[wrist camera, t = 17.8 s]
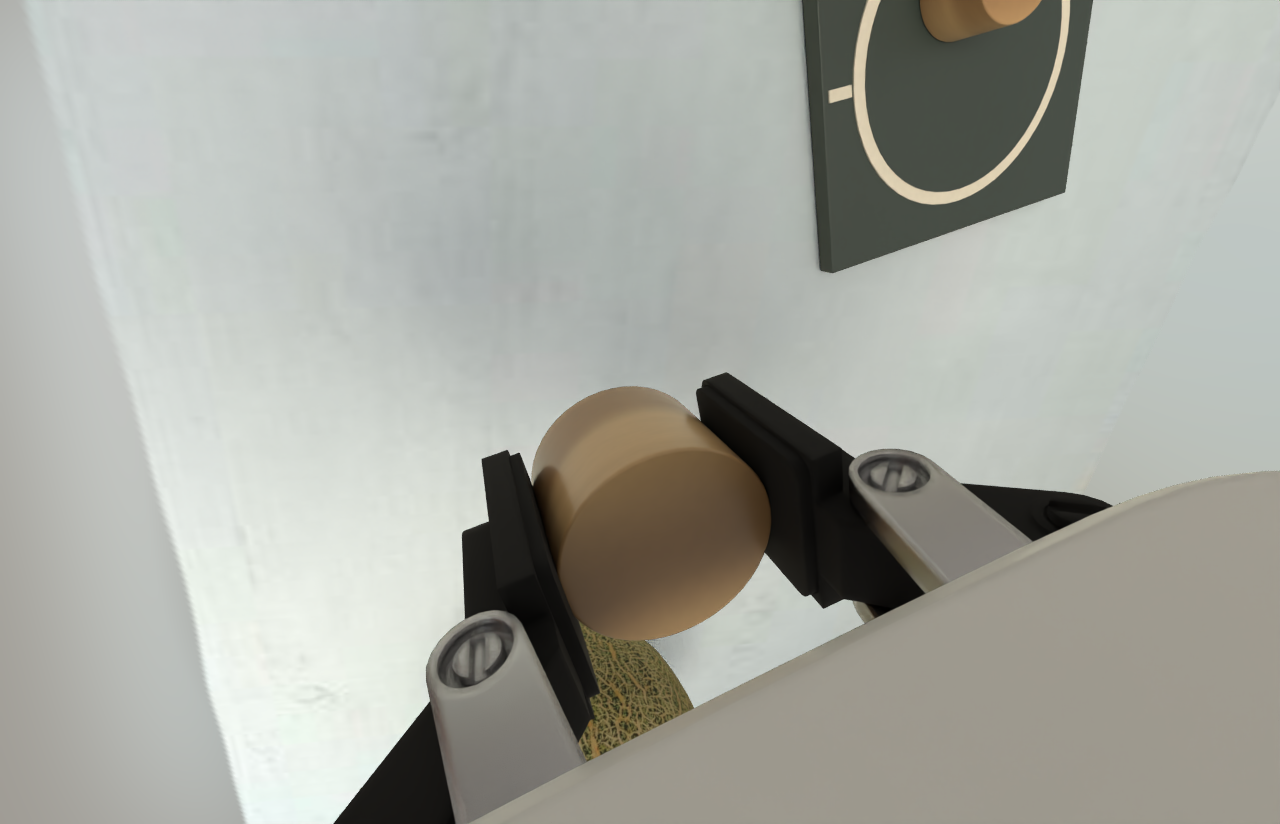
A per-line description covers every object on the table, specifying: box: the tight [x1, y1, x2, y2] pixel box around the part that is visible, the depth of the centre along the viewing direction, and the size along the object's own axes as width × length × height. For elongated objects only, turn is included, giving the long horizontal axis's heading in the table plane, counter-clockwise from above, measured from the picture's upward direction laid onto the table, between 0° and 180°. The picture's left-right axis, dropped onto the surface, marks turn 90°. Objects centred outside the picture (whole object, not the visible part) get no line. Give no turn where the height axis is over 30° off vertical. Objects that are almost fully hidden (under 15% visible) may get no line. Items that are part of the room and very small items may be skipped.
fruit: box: [578, 621, 694, 762], centre depth 26 cm, size 11×11×15 cm
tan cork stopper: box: [531, 386, 771, 641], centre depth 10 cm, size 4×4×3 cm
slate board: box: [803, 0, 1093, 273], centre depth 25 cm, size 16×16×1 cm
